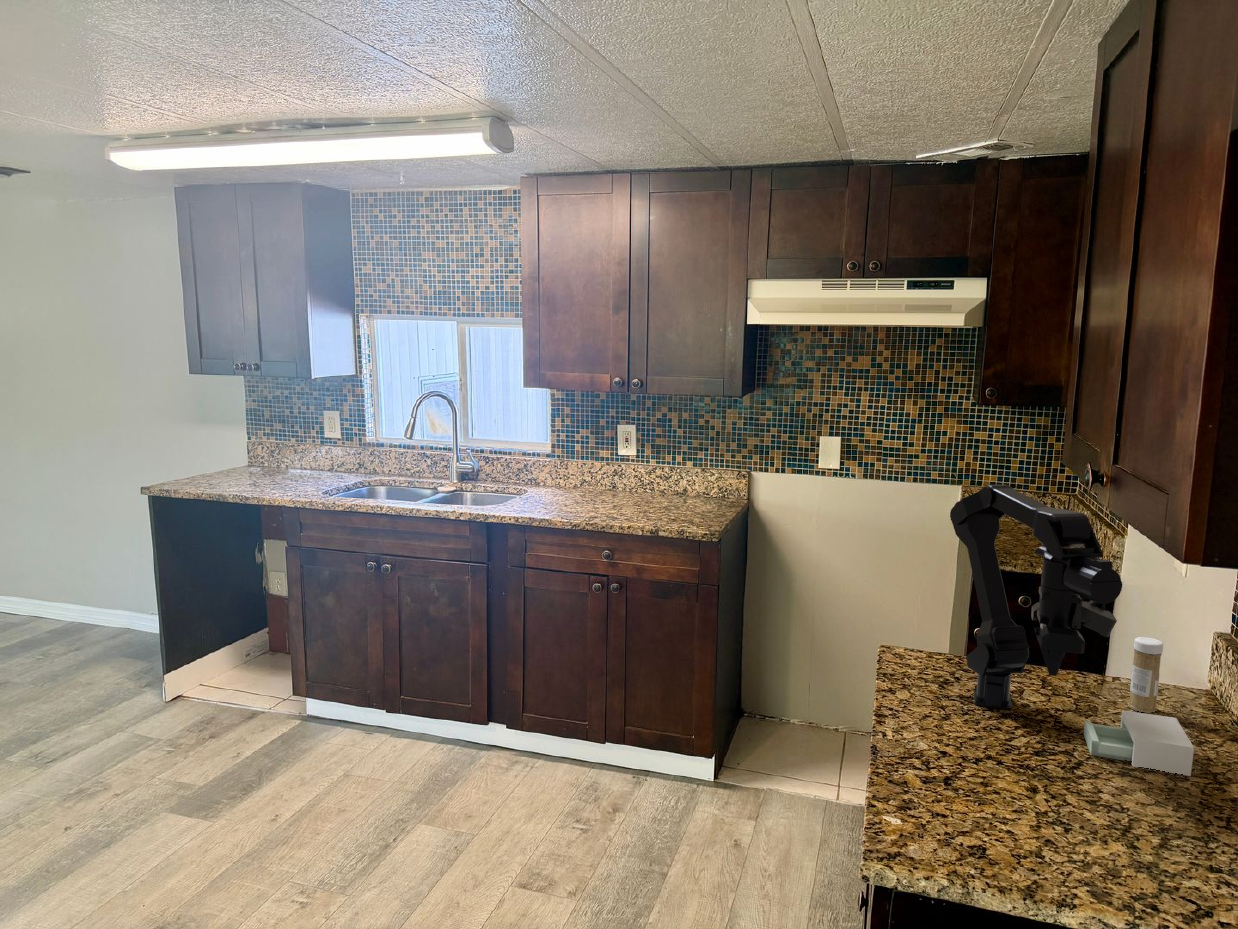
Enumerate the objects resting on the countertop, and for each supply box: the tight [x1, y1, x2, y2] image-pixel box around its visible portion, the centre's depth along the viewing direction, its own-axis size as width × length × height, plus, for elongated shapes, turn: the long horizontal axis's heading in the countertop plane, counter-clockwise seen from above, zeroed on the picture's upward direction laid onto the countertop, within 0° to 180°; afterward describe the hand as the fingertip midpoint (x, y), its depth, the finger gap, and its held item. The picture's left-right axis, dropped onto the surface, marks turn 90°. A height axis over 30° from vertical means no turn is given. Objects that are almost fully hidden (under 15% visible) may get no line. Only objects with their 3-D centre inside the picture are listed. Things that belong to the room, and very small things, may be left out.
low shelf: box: [1119, 710, 1195, 777], centre depth 140 cm, size 11×8×5 cm
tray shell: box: [1083, 720, 1134, 762], centre depth 142 cm, size 8×12×3 cm, turn 69°
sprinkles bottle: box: [1128, 636, 1164, 714], centre depth 157 cm, size 5×5×14 cm
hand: (1052, 675), depth 144 cm, fingers closed
